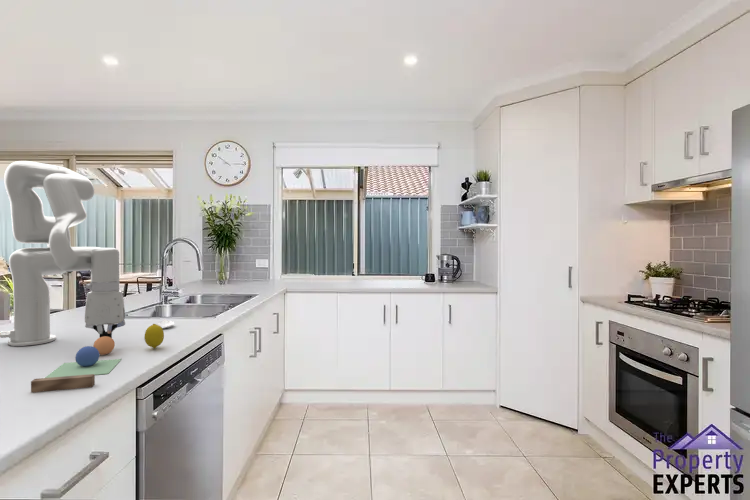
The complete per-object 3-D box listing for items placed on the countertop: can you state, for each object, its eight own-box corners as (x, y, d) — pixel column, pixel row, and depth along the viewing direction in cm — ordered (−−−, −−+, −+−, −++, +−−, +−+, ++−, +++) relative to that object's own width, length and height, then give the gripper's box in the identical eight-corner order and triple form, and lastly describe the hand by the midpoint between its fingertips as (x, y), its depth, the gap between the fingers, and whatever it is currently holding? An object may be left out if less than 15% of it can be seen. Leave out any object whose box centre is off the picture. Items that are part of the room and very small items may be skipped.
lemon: (155, 351, 134) (155, 325, 134) (140, 350, 135) (140, 325, 135) (167, 347, 139) (167, 322, 139) (152, 346, 140) (152, 321, 140)
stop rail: (31, 392, 98) (30, 381, 97) (34, 389, 99) (34, 378, 99) (92, 387, 101) (92, 376, 101) (94, 384, 103) (94, 374, 103)
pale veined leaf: (175, 323, 177) (175, 317, 176) (173, 331, 166) (172, 324, 165) (154, 325, 174) (153, 319, 174) (150, 334, 163) (150, 327, 162)
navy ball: (81, 352, 120) (76, 370, 117) (75, 343, 116) (70, 362, 113) (103, 350, 122) (99, 369, 119) (98, 341, 118) (94, 360, 115)
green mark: (43, 379, 107) (43, 378, 107) (64, 363, 120) (64, 362, 120) (108, 374, 111) (108, 373, 111) (121, 359, 124) (121, 358, 124)
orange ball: (96, 336, 132) (92, 355, 130) (94, 334, 127) (90, 353, 125) (117, 337, 134) (113, 356, 132) (115, 335, 129) (112, 354, 127)
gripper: (73, 289, 128) (73, 350, 129) (129, 287, 133) (130, 346, 133) (81, 286, 135) (81, 344, 136) (134, 285, 140) (135, 341, 140)
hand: (105, 345), depth 134 cm, fingers closed
